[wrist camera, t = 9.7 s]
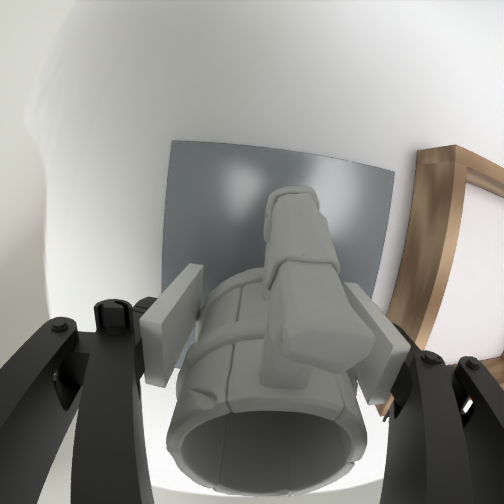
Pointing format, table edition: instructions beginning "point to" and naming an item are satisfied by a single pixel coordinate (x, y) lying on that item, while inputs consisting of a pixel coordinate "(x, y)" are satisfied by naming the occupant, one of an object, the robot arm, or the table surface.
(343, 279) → the slate mat
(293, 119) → the table surface
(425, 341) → the box
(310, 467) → the mug
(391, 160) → the table surface
